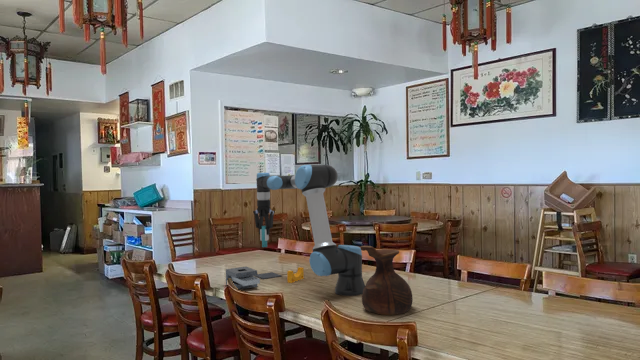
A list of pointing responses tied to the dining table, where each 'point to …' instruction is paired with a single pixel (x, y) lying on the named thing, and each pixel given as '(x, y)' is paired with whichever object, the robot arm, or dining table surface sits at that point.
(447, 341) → the dining table surface
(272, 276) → the mat
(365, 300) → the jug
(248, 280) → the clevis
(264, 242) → the pin
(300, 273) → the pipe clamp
